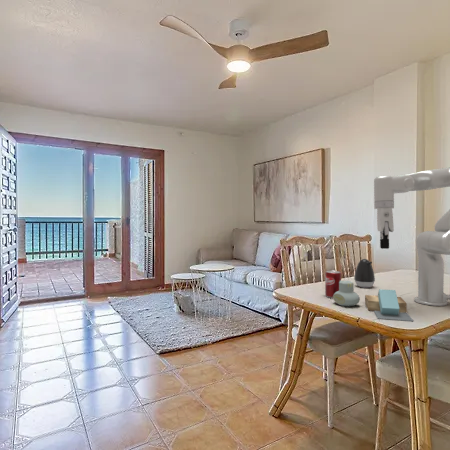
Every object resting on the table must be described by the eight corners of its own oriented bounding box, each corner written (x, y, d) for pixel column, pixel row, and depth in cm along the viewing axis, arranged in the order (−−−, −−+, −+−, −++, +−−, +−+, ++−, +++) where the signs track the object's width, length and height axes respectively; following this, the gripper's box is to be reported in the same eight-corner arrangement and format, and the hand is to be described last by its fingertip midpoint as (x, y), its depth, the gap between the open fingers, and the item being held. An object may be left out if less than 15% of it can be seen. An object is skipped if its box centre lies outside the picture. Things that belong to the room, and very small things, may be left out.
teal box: (394, 296, 132) (395, 290, 130) (398, 315, 126) (399, 308, 123) (377, 295, 134) (378, 289, 132) (381, 314, 127) (382, 307, 125)
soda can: (330, 299, 152) (330, 273, 151) (322, 295, 159) (322, 270, 158) (344, 298, 153) (344, 272, 153) (336, 294, 160) (336, 270, 160)
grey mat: (406, 313, 129) (406, 312, 129) (413, 321, 119) (413, 320, 119) (373, 311, 132) (373, 310, 132) (377, 318, 122) (377, 318, 122)
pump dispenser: (363, 289, 170) (363, 260, 169) (350, 285, 180) (350, 258, 179) (379, 288, 172) (379, 259, 172) (366, 284, 182) (366, 257, 182)
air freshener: (330, 302, 145) (330, 280, 145) (344, 300, 149) (344, 278, 148) (348, 309, 135) (348, 285, 135) (363, 306, 139) (363, 283, 138)
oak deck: (400, 306, 139) (400, 296, 139) (406, 313, 129) (406, 303, 129) (365, 304, 143) (365, 294, 143) (368, 310, 133) (368, 300, 133)
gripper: (397, 204, 130) (398, 250, 131) (390, 205, 144) (390, 246, 145) (377, 205, 132) (378, 250, 133) (371, 205, 146) (372, 246, 147)
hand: (384, 248), depth 139 cm, fingers closed
